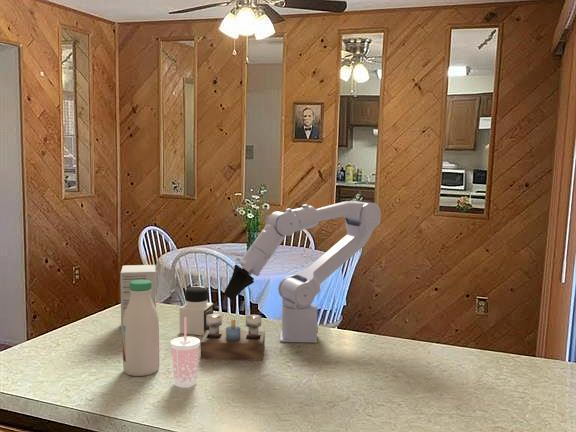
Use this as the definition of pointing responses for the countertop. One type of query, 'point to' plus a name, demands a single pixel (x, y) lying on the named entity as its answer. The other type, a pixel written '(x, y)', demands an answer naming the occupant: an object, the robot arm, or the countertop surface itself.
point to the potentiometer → (233, 331)
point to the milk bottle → (140, 332)
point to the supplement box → (132, 274)
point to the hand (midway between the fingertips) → (228, 297)
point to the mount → (233, 347)
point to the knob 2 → (253, 326)
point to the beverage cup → (185, 359)
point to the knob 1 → (214, 325)
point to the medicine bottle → (195, 310)
